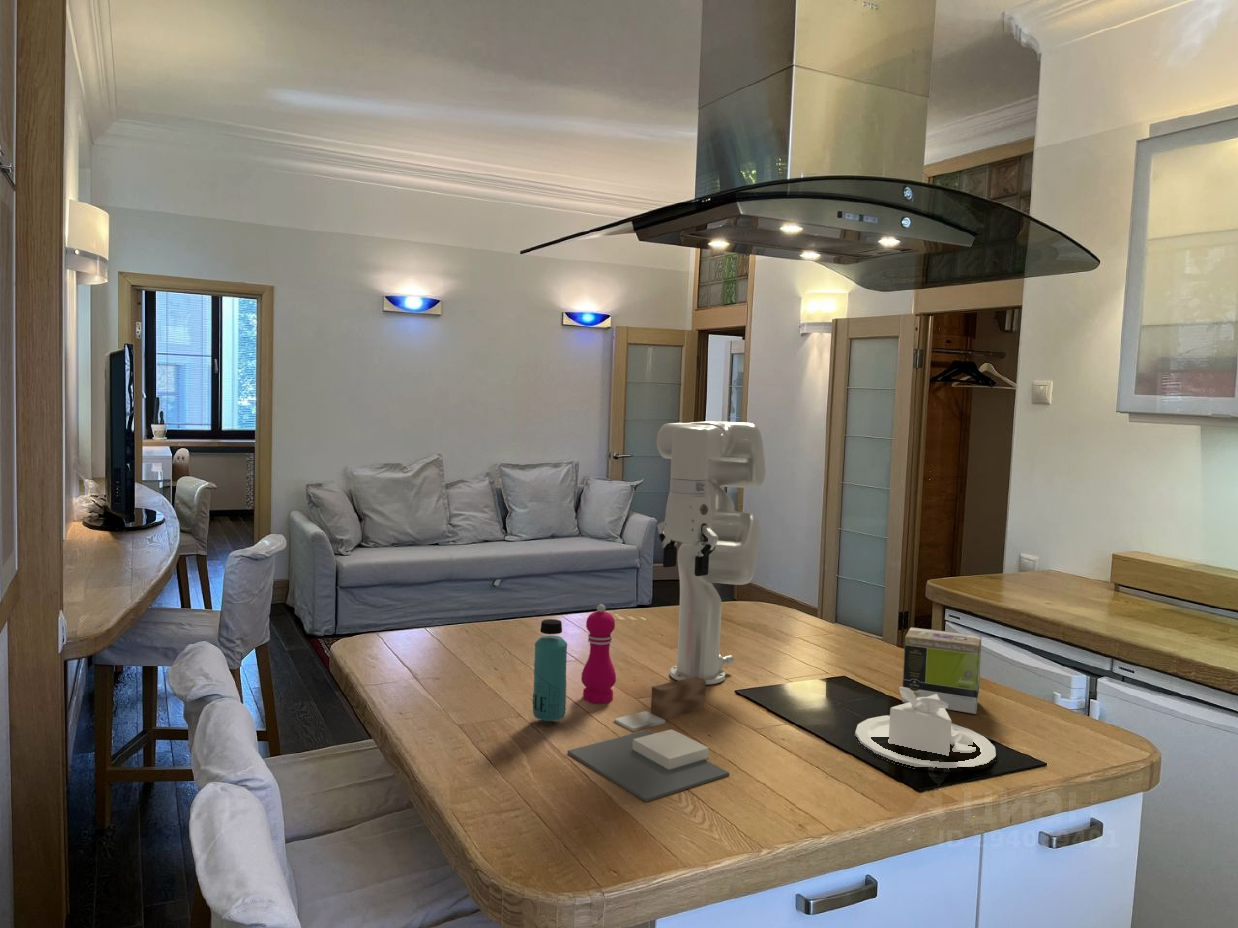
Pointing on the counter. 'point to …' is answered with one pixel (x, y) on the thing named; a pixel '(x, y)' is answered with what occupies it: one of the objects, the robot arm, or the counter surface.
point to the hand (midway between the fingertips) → (685, 570)
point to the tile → (670, 749)
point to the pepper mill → (599, 658)
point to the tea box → (943, 667)
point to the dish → (923, 733)
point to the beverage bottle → (550, 673)
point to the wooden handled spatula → (668, 703)
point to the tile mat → (643, 768)
